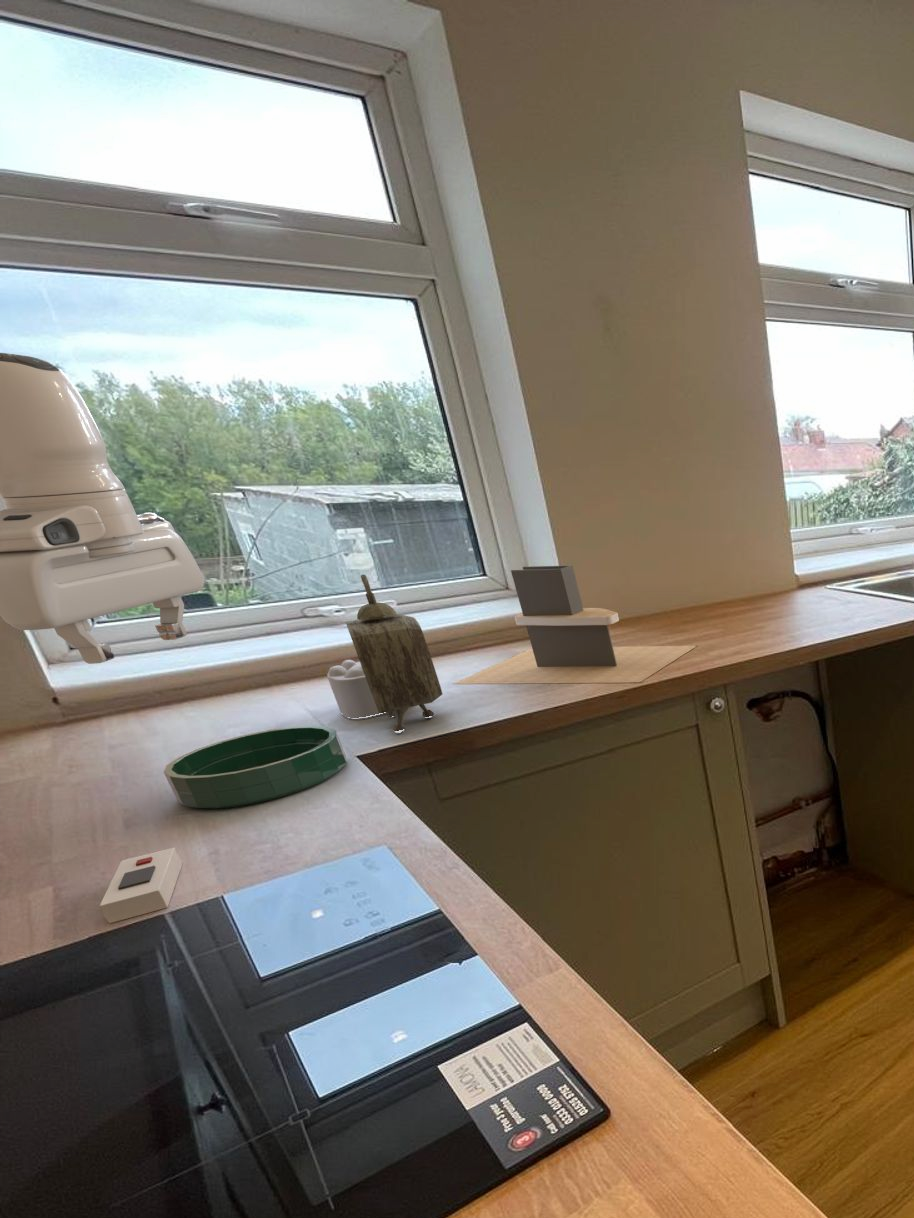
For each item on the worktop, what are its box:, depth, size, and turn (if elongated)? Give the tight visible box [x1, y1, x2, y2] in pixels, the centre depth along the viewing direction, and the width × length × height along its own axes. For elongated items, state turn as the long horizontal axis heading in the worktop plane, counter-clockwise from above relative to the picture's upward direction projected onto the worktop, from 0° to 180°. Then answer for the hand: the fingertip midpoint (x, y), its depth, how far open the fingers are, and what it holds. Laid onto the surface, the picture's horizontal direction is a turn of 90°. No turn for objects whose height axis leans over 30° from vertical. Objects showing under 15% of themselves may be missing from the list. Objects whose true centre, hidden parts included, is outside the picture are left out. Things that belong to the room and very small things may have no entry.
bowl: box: [163, 725, 347, 810], centre depth 116 cm, size 19×19×5 cm
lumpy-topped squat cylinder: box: [326, 659, 411, 721], centre depth 145 cm, size 10×13×9 cm
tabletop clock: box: [345, 574, 443, 732], centre depth 133 cm, size 14×9×25 cm, turn 40°
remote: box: [99, 847, 184, 924], centre depth 89 cm, size 12×4×2 cm, turn 38°
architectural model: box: [453, 564, 697, 685], centre depth 163 cm, size 38×25×20 cm, turn 85°
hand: (139, 649), depth 90 cm, fingers open, 8 cm apart
